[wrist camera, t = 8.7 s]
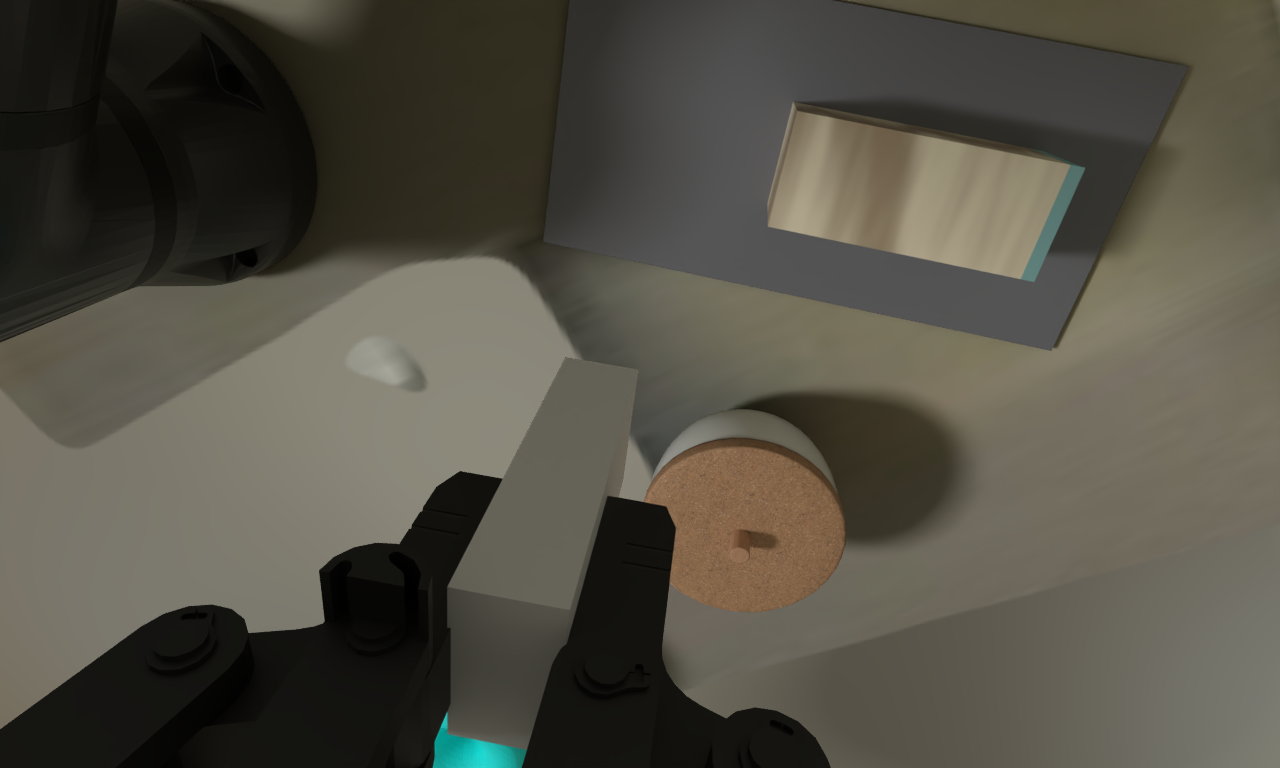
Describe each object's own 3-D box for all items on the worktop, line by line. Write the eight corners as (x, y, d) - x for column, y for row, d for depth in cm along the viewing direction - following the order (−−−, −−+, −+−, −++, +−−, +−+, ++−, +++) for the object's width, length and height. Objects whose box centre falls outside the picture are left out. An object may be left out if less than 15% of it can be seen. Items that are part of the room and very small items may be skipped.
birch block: (767, 226, 32) (1034, 281, 31) (797, 111, 30) (1085, 168, 29) (767, 203, 37) (1000, 251, 36) (793, 101, 34) (1042, 151, 34)
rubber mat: (545, 239, 40) (543, 241, 39) (576, -48, 33) (574, -49, 33) (1048, 347, 38) (1051, 350, 38) (1183, 66, 32) (1188, 66, 31)
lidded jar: (864, 418, 41) (889, 513, 33) (789, 550, 46) (794, 662, 38) (693, 354, 41) (675, 433, 33) (636, 493, 46) (608, 592, 38)
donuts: (442, 682, 42) (556, 780, 45) (498, 571, 51) (590, 657, 54) (346, 740, 46) (455, 827, 49) (413, 627, 55) (503, 705, 57)
